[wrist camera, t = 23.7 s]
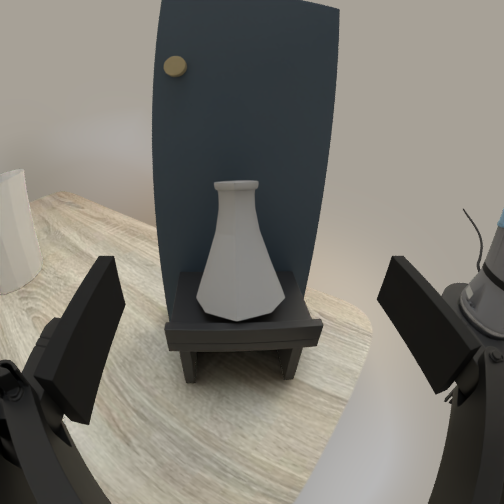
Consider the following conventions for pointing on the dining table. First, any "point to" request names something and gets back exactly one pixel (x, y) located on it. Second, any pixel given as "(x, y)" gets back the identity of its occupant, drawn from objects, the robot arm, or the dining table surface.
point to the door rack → (241, 157)
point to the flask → (238, 259)
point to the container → (17, 234)
